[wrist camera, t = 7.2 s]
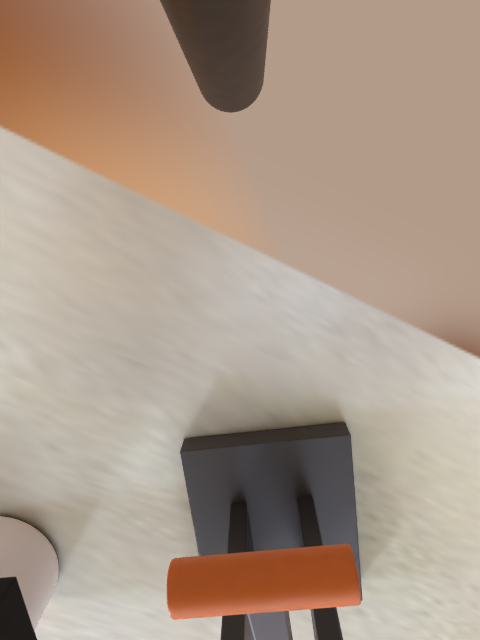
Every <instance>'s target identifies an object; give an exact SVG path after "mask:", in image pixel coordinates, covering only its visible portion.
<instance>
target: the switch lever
mask: <svg viewBox="0 0 480 640" xmlns="http://www.w3.org/2000/svg"><path fill="white" fill-rule="evenodd" d="M360 603H361V592H360V584H359V577H358V572H357V567H356V562H355V558H354V554H353V551H352V548H351V546H350V544H336V545H324V546H312V547H301V548H289V549H277V550H265V551H254V552H242V553H230V554H218V555H207V556H195V557H183V558H174V559H172V561H171V563H170V566H169V570H168V577H167V604H168V610H169V614H170V617H171V618H172V619H187V618H201V617H214V616H227V615H240V614H247V615H248V618H249V622H250V626H251V629H252V633H253V637H254V640H293V638H292V632H291V625H290V618H289V612H288V611H292V610H305V609H318V608H331V607H344V606H357V605H360Z"/></svg>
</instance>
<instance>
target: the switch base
mask: <svg viewBox="0 0 480 640" xmlns="http://www.w3.org/2000/svg"><path fill="white" fill-rule="evenodd" d="M180 454H181V459H182V465H183V470H184V476H185V481H186V487H187V492H188V497H189V503H190V508H191V514H192V519H193V525H194V530H195V536H196V541H197V547H198V552H199V556H207V555H218V554H230V553H242V552H254V551H265V550H277V549H289V548H301V547H312V546H324V545H336V544H350V546H351V548H352V551H353V554H354V558H355V562H356V567H357V572H358V577H359V584H360V592H361V601H362V588H361V574H360V560H359V546H358V532H357V518H356V504H355V490H354V476H353V462H352V448H351V435H350V432H349V430H348V428H347V426H346V423H334V424H324V425H315V426H305V427H295V428H285V429H275V430H266V431H256V432H246V433H236V434H226V435H216V436H207V437H197V438H187V439H184V441H183V444H182V447H181V451H180ZM311 616H312V623H313V630H314V637H315V640H343V637H342V632H341V628H340V623H339V618H338V613H337V609H336V607H331V608H318V609H311ZM221 640H254V637H253V633H252V629H251V626H250V622H249V618H248V615H247V614H240V615H227V616H222V629H221Z"/></svg>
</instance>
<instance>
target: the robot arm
mask: <svg viewBox="0 0 480 640" xmlns="http://www.w3.org/2000/svg"><path fill="white" fill-rule="evenodd" d="M0 640H37V638H36V635H35V632H34V629H33V626H32V623H31V620H30V617H29V614H28V611H27V608H26V605H25V602H24V599H23V596H22V593H21V590H20V587H19V584H18V581H17V578H16V577H4V578H0Z"/></svg>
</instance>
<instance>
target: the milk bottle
mask: <svg viewBox="0 0 480 640" xmlns="http://www.w3.org/2000/svg"><path fill="white" fill-rule="evenodd" d="M58 574H59V563H58V559H57V555H56V553H55V551H54V548H53V546H52V545H51V544H50V542H49V541H48V539H47V538H46V537H45V536H44V535H43V534H42V533H41V532H40V531H38V530H37V529H35V528H34V527H32V526H31V525H29V524H27V523H25V522H22V521H20V520H17V519H13V518H10V517H2V516H0V578H4V577H16V578H17V581H18V584H19V587H20V590H21V593H22V596H23V599H24V602H25V605H26V608H27V611H28V614H29V617H30V620H31V623H32V626H33V629H35V628H36V626H37V624H38V622H39V620H40V618H41V616H42V614H43V612H44V610H45V608H46V606H47V604H48V602H49V600H50V598H51V596H52V594H53V592H54V590H55V587H56V585H57V582H58Z"/></svg>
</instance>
